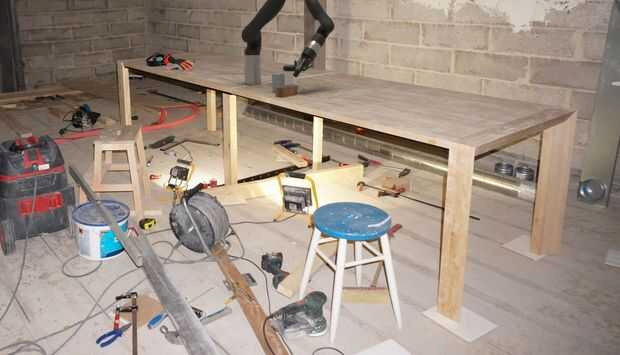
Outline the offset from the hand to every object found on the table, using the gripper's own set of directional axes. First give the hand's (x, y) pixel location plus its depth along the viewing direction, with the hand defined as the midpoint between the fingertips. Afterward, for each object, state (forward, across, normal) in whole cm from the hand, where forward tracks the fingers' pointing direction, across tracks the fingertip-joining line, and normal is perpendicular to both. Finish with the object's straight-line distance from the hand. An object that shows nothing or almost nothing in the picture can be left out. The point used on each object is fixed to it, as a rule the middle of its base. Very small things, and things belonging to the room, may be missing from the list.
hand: (294, 76), depth 297 cm
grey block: (+8, -11, +5) cm, 15 cm away
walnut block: (+5, 0, +5) cm, 7 cm away
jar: (-2, -18, +16) cm, 24 cm away
